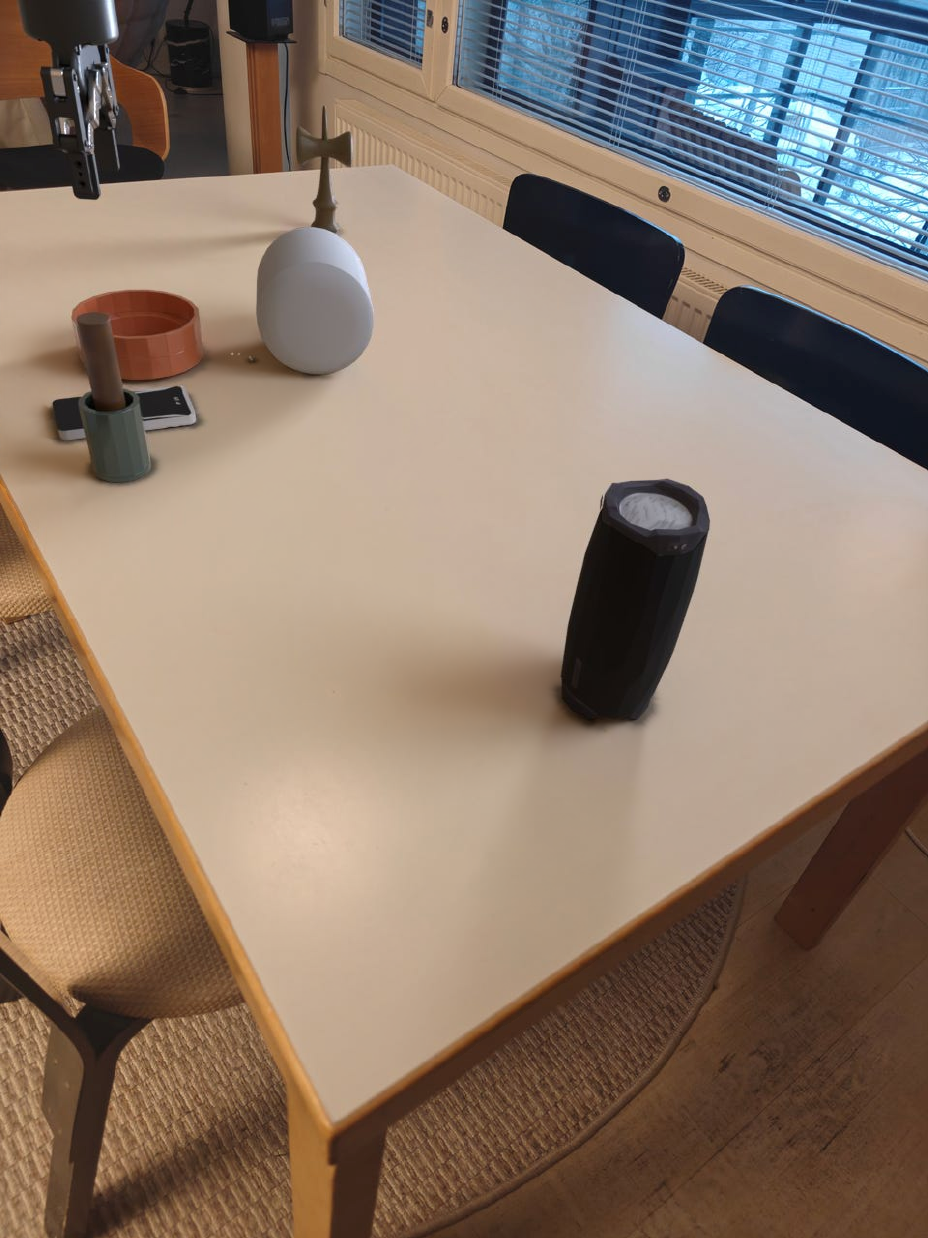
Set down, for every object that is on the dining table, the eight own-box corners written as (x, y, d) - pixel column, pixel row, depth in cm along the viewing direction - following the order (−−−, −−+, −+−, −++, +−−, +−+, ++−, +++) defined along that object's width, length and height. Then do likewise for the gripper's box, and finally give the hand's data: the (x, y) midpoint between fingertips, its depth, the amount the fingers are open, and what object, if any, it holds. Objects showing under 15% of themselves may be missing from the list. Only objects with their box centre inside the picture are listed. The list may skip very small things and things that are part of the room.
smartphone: (51, 399, 100) (183, 384, 105) (54, 410, 101) (185, 394, 106) (57, 431, 95) (196, 414, 100) (60, 442, 96) (197, 424, 101)
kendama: (299, 224, 157) (294, 99, 144) (351, 226, 159) (352, 103, 146) (298, 235, 153) (294, 107, 140) (353, 237, 154) (353, 111, 141)
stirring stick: (106, 471, 91) (75, 324, 81) (107, 456, 93) (77, 311, 83) (136, 469, 92) (109, 324, 81) (136, 455, 94) (110, 311, 84)
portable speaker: (628, 651, 78) (685, 465, 66) (670, 728, 72) (743, 538, 59) (539, 660, 76) (581, 470, 63) (574, 740, 70) (628, 546, 57)
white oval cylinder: (204, 337, 108) (239, 242, 124) (288, 417, 117) (310, 318, 133) (314, 252, 99) (336, 161, 115) (395, 344, 108) (405, 249, 124)
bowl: (77, 386, 105) (67, 339, 101) (84, 334, 116) (75, 289, 112) (206, 382, 109) (201, 336, 105) (201, 331, 120) (196, 288, 116)
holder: (92, 484, 90) (76, 415, 85) (95, 455, 94) (80, 387, 89) (150, 481, 92) (138, 413, 86) (150, 452, 96) (139, 385, 91)
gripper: (35, -45, 75) (74, 160, 85) (-17, -27, 64) (35, 205, 75) (126, -35, 76) (153, 166, 86) (89, -16, 65) (125, 211, 76)
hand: (98, 184), depth 81 cm, fingers open, 8 cm apart
